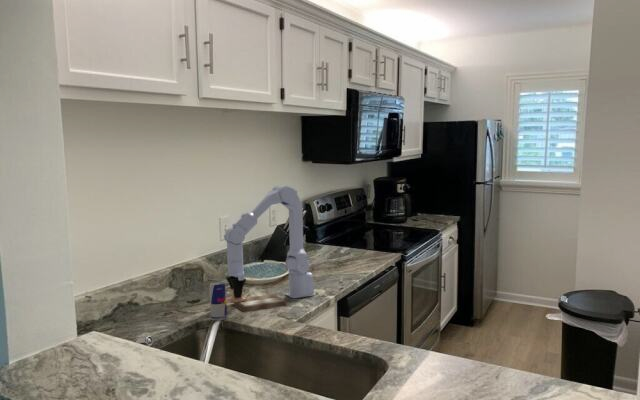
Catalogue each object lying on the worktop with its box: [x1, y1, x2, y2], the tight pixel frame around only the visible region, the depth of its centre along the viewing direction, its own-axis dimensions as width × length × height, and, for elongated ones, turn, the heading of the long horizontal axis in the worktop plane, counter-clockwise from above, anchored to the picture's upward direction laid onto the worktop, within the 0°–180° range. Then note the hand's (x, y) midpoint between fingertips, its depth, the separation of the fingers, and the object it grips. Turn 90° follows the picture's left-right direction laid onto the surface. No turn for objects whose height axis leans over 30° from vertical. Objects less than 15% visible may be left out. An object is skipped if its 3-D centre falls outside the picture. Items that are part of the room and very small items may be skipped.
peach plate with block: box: [226, 288, 248, 304], centre depth 182 cm, size 6×5×4 cm
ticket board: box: [233, 293, 287, 312], centre depth 182 cm, size 16×14×2 cm
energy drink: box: [208, 281, 228, 322], centre depth 164 cm, size 5×5×12 cm
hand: (236, 296), depth 182 cm, fingers closed on peach plate with block, 3 cm apart
